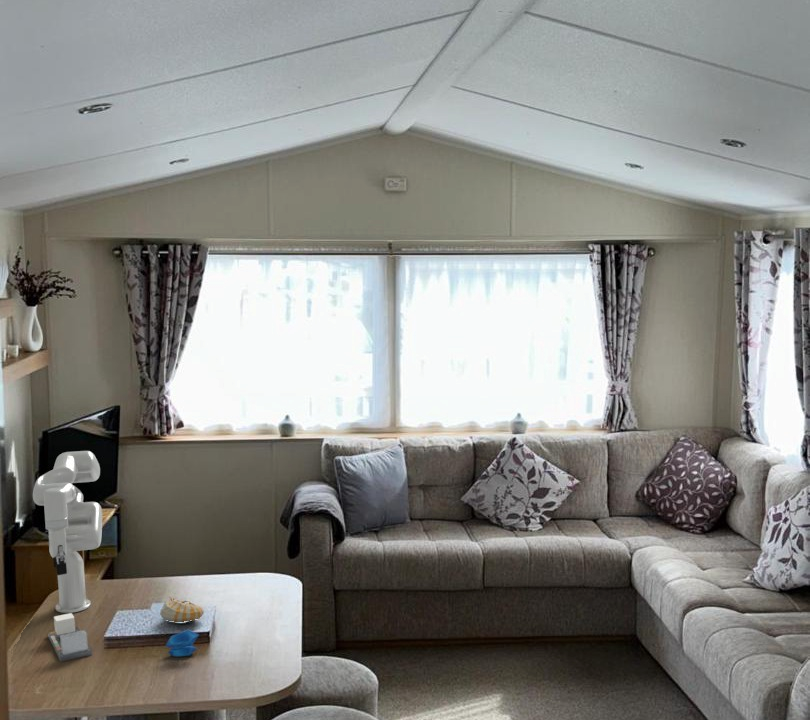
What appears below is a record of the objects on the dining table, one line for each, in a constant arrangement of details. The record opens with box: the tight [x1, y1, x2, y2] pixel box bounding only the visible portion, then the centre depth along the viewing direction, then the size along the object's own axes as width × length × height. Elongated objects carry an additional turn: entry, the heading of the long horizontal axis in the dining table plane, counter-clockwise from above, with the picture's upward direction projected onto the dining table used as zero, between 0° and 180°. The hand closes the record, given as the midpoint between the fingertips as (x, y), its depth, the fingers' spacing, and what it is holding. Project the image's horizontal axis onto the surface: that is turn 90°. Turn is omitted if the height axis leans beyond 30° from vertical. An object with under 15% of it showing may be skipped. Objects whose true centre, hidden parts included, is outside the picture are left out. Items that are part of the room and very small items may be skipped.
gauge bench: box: [47, 626, 93, 663], centre depth 326 cm, size 24×10×8 cm, turn 30°
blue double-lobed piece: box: [165, 629, 200, 658], centre depth 316 cm, size 7×9×12 cm
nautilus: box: [159, 596, 205, 622], centre depth 346 cm, size 8×22×15 cm
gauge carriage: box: [50, 613, 76, 635], centre depth 331 cm, size 5×8×5 cm, turn 120°
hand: (60, 570), depth 336 cm, fingers open, 9 cm apart
